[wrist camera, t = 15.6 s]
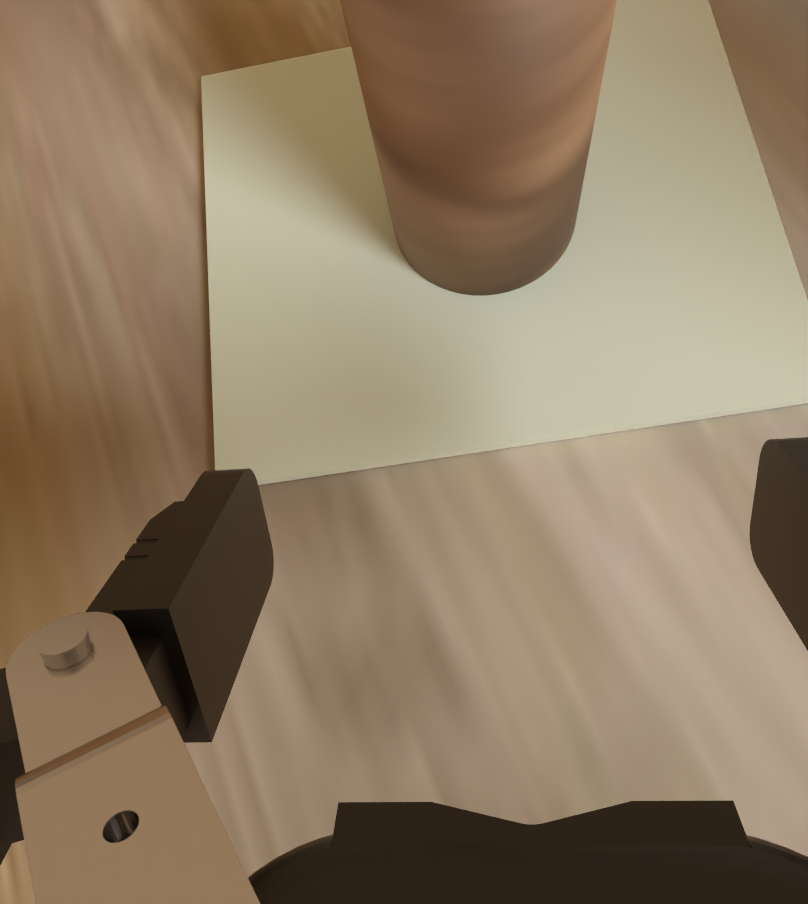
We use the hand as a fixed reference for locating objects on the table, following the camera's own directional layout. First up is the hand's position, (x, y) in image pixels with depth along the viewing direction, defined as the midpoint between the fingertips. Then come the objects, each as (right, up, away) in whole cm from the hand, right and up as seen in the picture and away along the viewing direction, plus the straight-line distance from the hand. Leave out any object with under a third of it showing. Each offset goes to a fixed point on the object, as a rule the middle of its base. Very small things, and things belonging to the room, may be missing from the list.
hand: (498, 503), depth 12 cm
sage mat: (+1, +8, +9) cm, 12 cm away
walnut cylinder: (+1, +8, +9) cm, 12 cm away
